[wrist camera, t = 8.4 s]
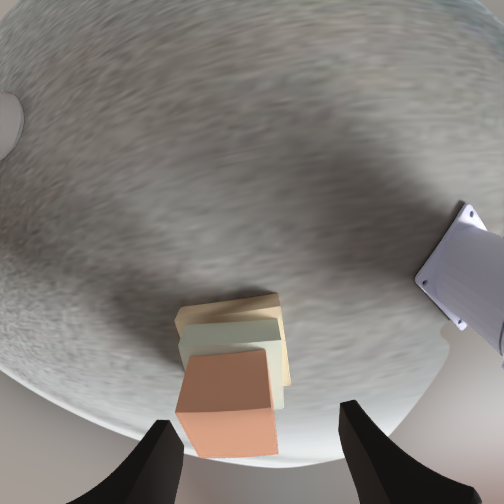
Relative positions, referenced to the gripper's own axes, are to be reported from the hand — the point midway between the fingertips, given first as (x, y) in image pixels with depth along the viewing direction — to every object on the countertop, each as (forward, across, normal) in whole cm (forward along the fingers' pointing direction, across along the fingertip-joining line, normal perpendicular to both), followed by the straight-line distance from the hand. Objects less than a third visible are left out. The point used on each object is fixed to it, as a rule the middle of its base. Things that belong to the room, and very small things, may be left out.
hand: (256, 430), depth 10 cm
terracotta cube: (+6, +2, +2) cm, 6 cm away
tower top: (+8, +2, +2) cm, 9 cm away
